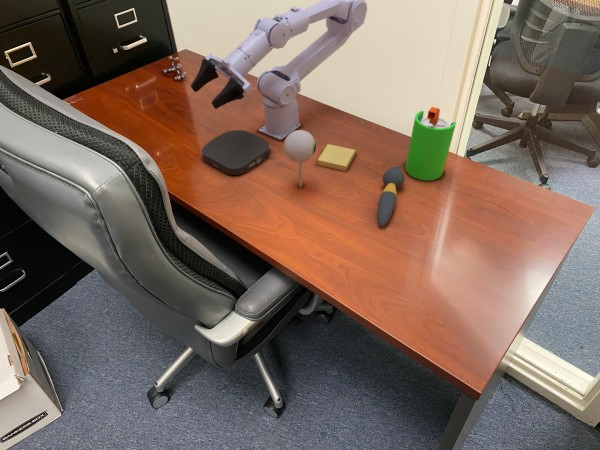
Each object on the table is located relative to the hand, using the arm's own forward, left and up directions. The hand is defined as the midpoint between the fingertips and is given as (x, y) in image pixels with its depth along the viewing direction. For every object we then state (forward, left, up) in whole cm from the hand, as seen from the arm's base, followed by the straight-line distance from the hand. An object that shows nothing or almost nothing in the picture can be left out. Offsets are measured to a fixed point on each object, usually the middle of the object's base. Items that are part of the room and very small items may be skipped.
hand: (203, 97), depth 102 cm
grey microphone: (-13, +45, -18) cm, 50 cm away
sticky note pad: (-19, +26, -18) cm, 36 cm away
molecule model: (-26, -44, -18) cm, 54 cm away
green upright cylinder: (-28, +46, -18) cm, 56 cm away
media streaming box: (-5, +4, -18) cm, 19 cm away
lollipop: (-5, +25, -18) cm, 31 cm away
